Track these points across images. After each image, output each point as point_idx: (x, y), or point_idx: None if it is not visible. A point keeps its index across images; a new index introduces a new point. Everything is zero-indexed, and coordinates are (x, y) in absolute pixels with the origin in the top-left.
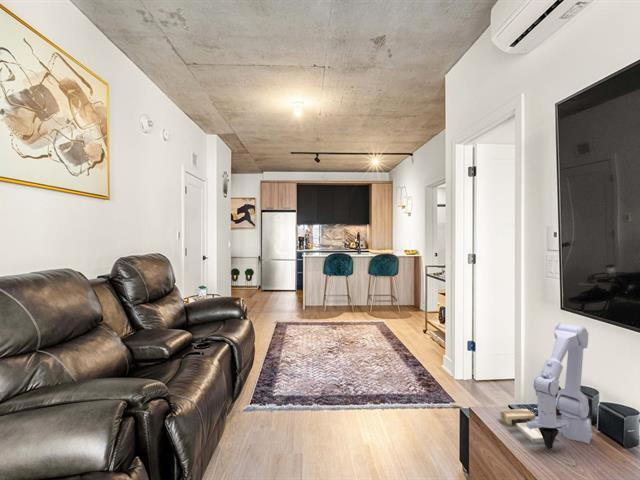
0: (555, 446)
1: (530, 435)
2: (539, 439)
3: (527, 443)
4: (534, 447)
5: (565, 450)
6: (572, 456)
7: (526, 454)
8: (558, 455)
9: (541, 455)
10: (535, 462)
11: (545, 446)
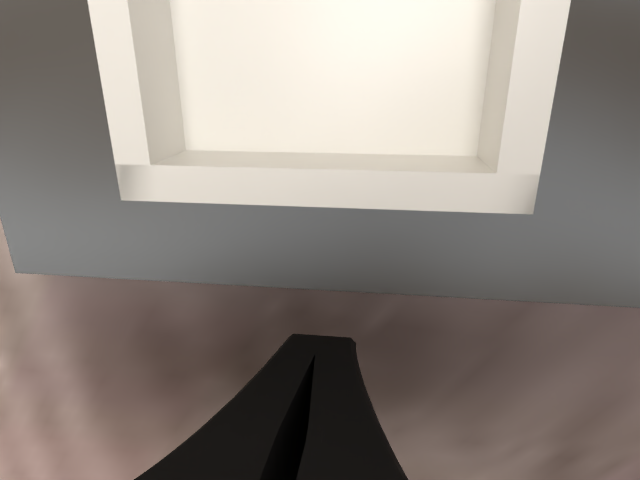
0: (500, 295)
1: (113, 47)
2: (264, 199)
3: (74, 148)
4: (140, 273)
5: (606, 341)
6: (567, 466)
7: (11, 339)
8: (398, 420)
9: (183, 385)
10: (59, 473)
11: (327, 275)
